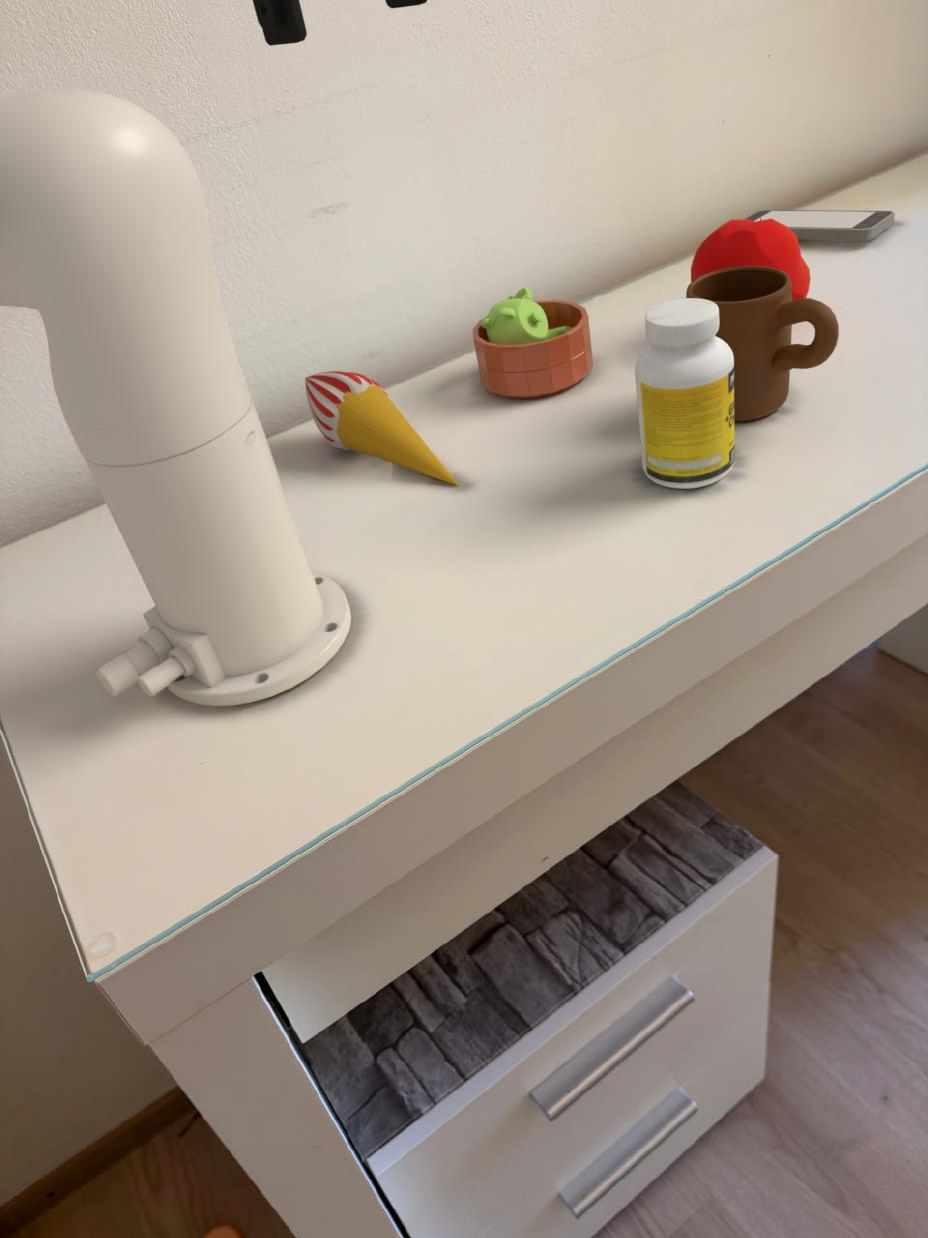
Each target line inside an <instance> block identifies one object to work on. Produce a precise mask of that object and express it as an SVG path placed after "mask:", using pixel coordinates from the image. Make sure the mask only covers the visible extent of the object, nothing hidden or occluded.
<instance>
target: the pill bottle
mask: <svg viewBox="0 0 928 1238" xmlns="http://www.w3.org/2000/svg"><path fill="white" fill-rule="evenodd" d="M644 328H645V329H644V331H645V332H644V333H645V337H646V340H648V342H650V344H648V345H647V346H646V347H645V348H644V349H643V350H642V351H641V352H640V353H639V354H638V356H637V358H636V361H635V364H634V376H635V378H634V379H635V388H636V389H635V390H636V400H637V411H638V424H639V438H640V449H641V450H640V452H641V464H642V470H643V473H644V474H645V476H646V477H647V478H648V479H649V480H651V481H652V482H654V483H655V484H658V485H659V486H663V487H666V488H672V489H683V490H684V489H685V490H687V489H696V488H697V489H698V488H702V487H705V486H708V485H712V484H714V483H716V482H718V481H720V480H722V479H723V478H724V477H726V476H727V475H728V474H729V473H730V472H731V470H732V468H733V466H734V463H735V459H736V447H735V446H736V444H735V443H736V442H735V441H736V439H735V434H736V433H735V422H734V356H733V353H732V350H731V348H730V347H729V346H728V344H727V343H726V342H724V341H723V340H722V339H720V338H718V337H716V336H715V334H716V333H717V332H718V330H719V308H718V306H717V304H715V303H714V302H712V301H709V300H705V299H698V298H686V297H684V298H677V299H672V300H668V301H664V302H661V303H659V304H658V303H657V304H656V305H654V306H653V307H651V308H650V309H649V310H647V311H646V313H645V315H644Z"/></svg>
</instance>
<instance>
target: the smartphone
mask: <svg viewBox="0 0 928 1238" xmlns="http://www.w3.org/2000/svg"><path fill="white" fill-rule="evenodd" d="M895 215H896V211H894V210H866V209H865V210H862V209H861V210H858V209H857V210H855V209H854V210H852V209H850V210H849V209H846V210H845V209H760V210H757V211H756V212H754V213H752V214H750V215H749V216H746V217H745V218H744V219H748V220H752V221H755V222H756V221H760V218H761V220H766V219H771V218H772V219H774V220H776V221H778V222H779V223H781V224H783V225H785V226H787V227H788V228H789V229H790V230H791V231H792V232H793V233H794V234H796V235H797V240H811V241H812V240H813V241H843V242H844V241H845V242H846V241H848V242H866V241H870V240H872V239H874V238H876V237H877V236H879V235H880V234H881V233H882V232H884V231H885V230H887V229H888V228H890V227H891V226H893V225H894V224H895V217H896V216H895Z"/></svg>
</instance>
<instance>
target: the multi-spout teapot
mask: <svg viewBox="0 0 928 1238" xmlns="http://www.w3.org/2000/svg"><path fill="white" fill-rule="evenodd" d="M523 297H525V298H523ZM533 297H534V295H533V291H531V290H530V288H527V287H522V288H521V289H519V290H518V291H517V293H516V294H515V295H509V296H508V297H507V299H504V300H501V301H500V302H497V303H496V304H494V305H493V306H492V307H491V308H490V310H489V312H488V314H487V316H488V318H485V317H484V318H485V319H483V318H482V319H483V320H482V322H481V325H482V327H483V328H485V329H487V336H488V340H489V342H490V343H495V344H500V345H523V344H528V343H534V342H539V341H545V340H548V339H550V338H553V337H556V336H559V335H562V334H564V333H566V332H567V331H569V330H570V329H572V327H569V326H564V327H559V328H555V329H551V330H548V321H547V317H546V314H545V312H544V310H543V309H542V307H541V306H540V305H538V304H537V303H535V302H533V301H534V300H533Z"/></svg>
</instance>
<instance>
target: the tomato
mask: <svg viewBox="0 0 928 1238" xmlns="http://www.w3.org/2000/svg"><path fill="white" fill-rule="evenodd" d="M742 266H763V267H770V268H775V269H779V270H781V271H783V272H785V273H786V274H788V275H789V277H790V279H791V287H792V301H796V300H799V299H803V298H808V297H807V296H808V294H809V292H810V285H811V271H810V267H809V266H808V264H807V262H806V261H805V259H804V258H803V256H802V252H801V248H800V243H799V239H797V235H796V234H794V233H793V232H792V231H791V230H790V229H789V228H788V227H787V226H785V225H783V224H781V223H779V222H778V221H776V220H774V219H772V218H771V219H766V220H761V218H760V221H756V222H755V221H752V220H748V219H745V218H742V219H730V220H728V221H727V222H725V223H723V224H722V225H720V226H719V227H718V228H716V230H714V231H713V232H711V233H710V234H709V235H708V236H707V237H706V238H705V239H704V240H703V241H702V242H701V243H700V245H699V246H698V247H697V249H696V251H695V254H694V256H693V259H692V262H691V266H690V283H691V282H692V281H694V280H695V279H697V278H698V277H700V276H703V275H705V274H707V273H710V272H713V271H717V270H721V269H726V268H732V267H742Z"/></svg>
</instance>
